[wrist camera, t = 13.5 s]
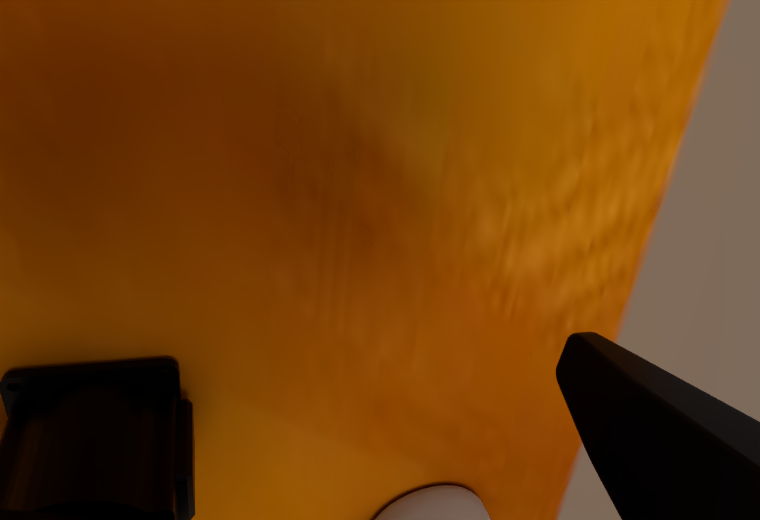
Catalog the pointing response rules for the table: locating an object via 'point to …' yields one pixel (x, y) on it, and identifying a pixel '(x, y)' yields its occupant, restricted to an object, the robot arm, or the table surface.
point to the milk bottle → (437, 505)
